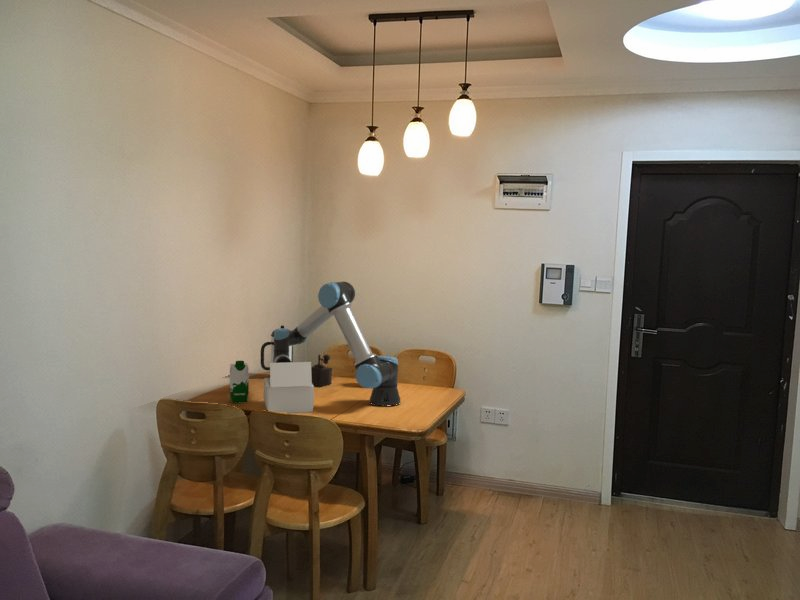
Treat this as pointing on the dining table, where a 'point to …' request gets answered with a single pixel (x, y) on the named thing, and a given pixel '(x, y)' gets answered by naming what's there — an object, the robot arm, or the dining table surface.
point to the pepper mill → (321, 373)
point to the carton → (288, 398)
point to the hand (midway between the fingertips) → (288, 373)
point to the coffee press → (273, 351)
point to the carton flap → (290, 374)
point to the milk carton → (239, 382)
